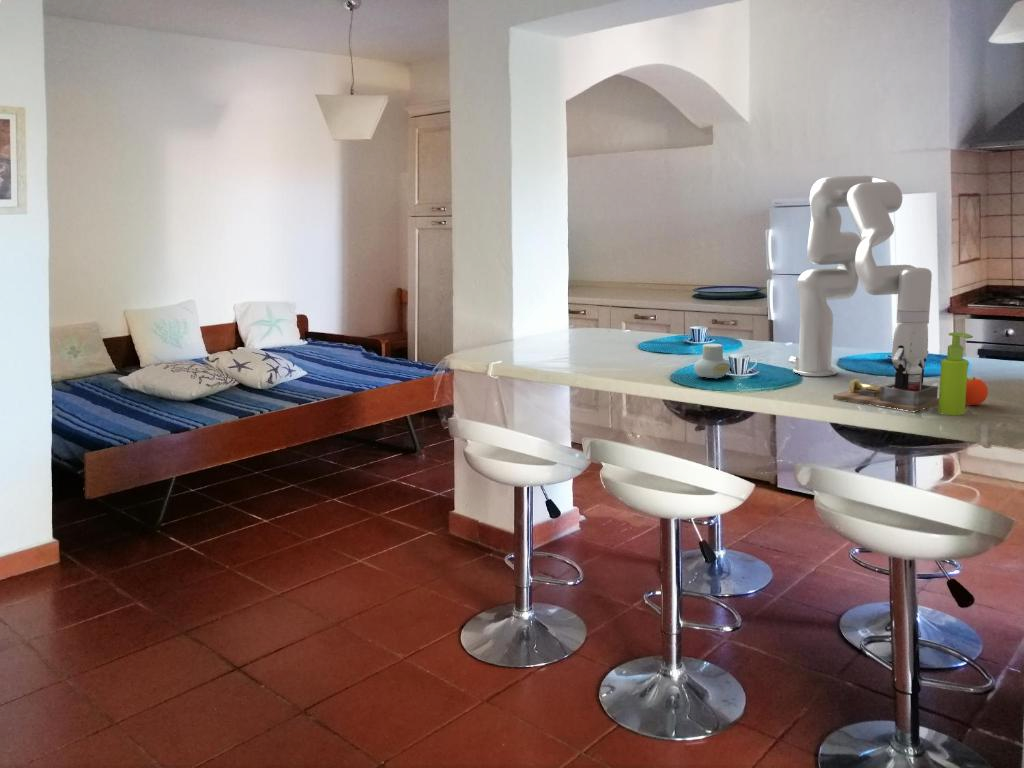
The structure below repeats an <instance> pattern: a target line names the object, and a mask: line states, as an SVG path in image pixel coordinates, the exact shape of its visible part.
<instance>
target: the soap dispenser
mask: <svg viewBox="0 0 1024 768" xmlns="http://www.w3.org/2000/svg"><path fill="white" fill-rule="evenodd" d="M948 336H950V337H951V344H950V345H948V346H947V355H946V356H947V357H946V358H943V359H941V360H940V374H939V375H940V376H939V390H938V391H939V393H938V398H939V404H938V407H937V408H938V410H937V412H938V413H939V414H941V413H943V414H942V415H945V414H948V415H947V416H959V415H958V414H963V413H964V412H965V411H966V404H965V399H966V384H967V378H968V370H969V369H968V366H969V360H966V359H964V358H963V357H964V346H963V345H961V344H960V342H961V338H964V339H971V338H972V339H973V338H974V336H973V335H971V334H969V333H966V332H948ZM964 414H965V413H964ZM964 414H963V415H964Z"/></svg>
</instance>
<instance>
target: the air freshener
mask: <svg viewBox="0 0 1024 768" xmlns="http://www.w3.org/2000/svg"><path fill="white" fill-rule="evenodd" d="M723 347H724V346H723V345H722V344H720V343H705V344H703V345H702V358H700V359H699V360H698V361H696V362H695V364H694V366H693V368H694V372H695V373H696V374H697V375H698V376H699V377H701V378H703V377H709V378H710V377H722V376H724V375H725V374H726V373H727V372H728V371H729V369H730V365H731V363H730V362H729V361H728V360H726V359H725V358H723V357H724V355H723V354H724V353H723V352H724V351H723V350H724V348H723ZM729 363H730V364H729Z"/></svg>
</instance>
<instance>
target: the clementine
mask: <svg viewBox="0 0 1024 768" xmlns="http://www.w3.org/2000/svg"><path fill="white" fill-rule="evenodd" d="M988 394H989V388H988V386H987V384H986V383H985V381H983V380H982V379H980V378H975V377H972V378H971V377H970V378H969V377H967V384H966V399H965V405H968V406H977V405H980V404H982V403H984V402H985V401H986V399H987V398H988V396H989V395H988Z"/></svg>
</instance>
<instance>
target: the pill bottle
mask: <svg viewBox="0 0 1024 768" xmlns="http://www.w3.org/2000/svg"><path fill="white" fill-rule="evenodd" d="M901 361H906V360H904V359H902V360H901ZM919 363H920V359H917V360H916V361H915V362H913V363H910V364H909V368H908V371H907V374H909V377H908V389H902V390H908V391H915V392H917V391H920V390H921V385H922V368H921V367H920V366H918V364H919ZM902 365H903V367H904V366H905V364H902ZM895 389H900V388H895Z"/></svg>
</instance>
